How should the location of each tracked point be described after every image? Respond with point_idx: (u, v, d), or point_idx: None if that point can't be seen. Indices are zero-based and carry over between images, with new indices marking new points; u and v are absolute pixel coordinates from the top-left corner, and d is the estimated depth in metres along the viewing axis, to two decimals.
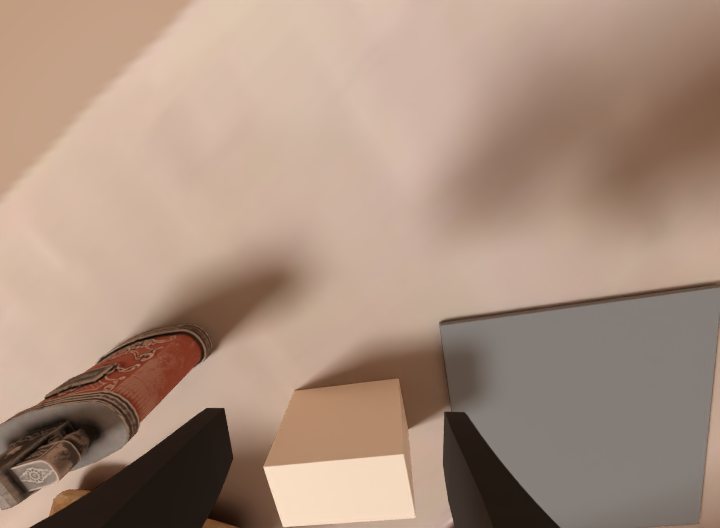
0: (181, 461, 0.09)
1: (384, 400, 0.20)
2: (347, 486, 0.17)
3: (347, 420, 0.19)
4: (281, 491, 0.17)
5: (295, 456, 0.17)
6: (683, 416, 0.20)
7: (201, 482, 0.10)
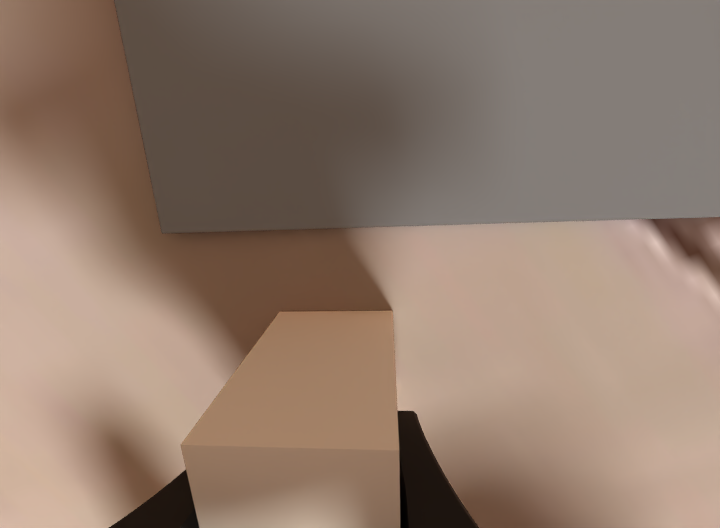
0: None
1: None
2: None
3: None
4: None
5: None
6: None
7: None
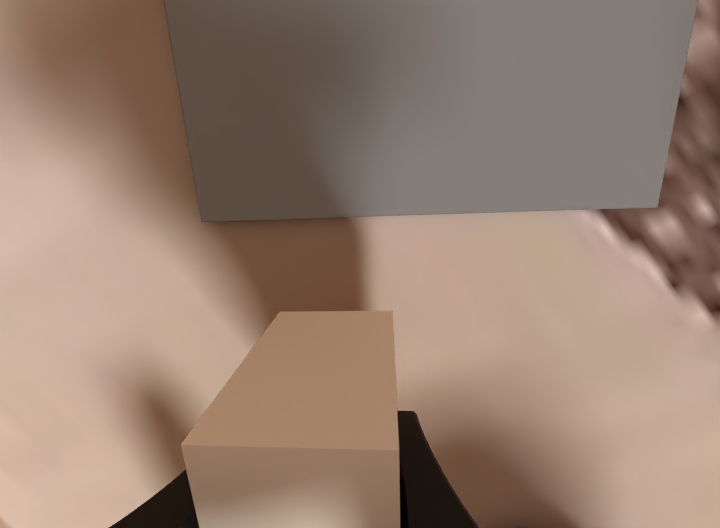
0: None
1: None
2: None
3: None
4: None
5: None
6: None
7: None
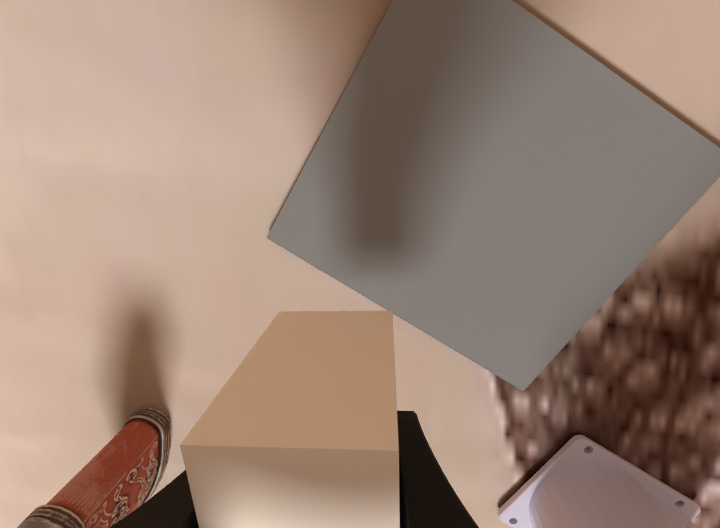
0: None
1: None
2: None
3: None
4: None
5: None
6: (559, 81, 0.15)
7: None
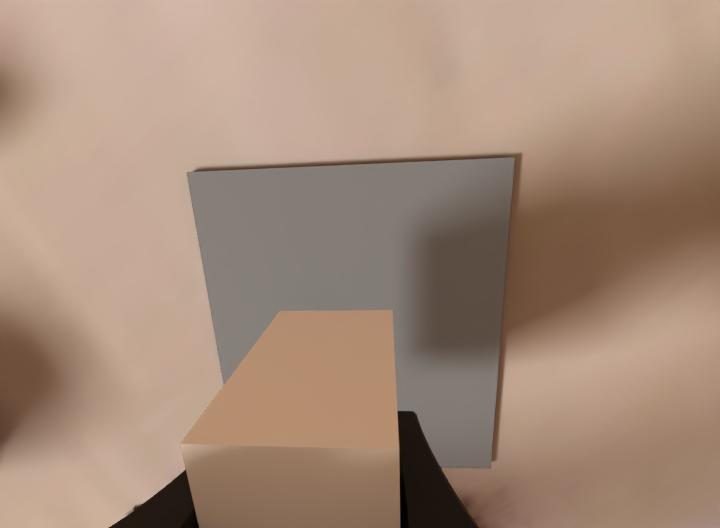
0: None
1: None
2: None
3: None
4: None
5: None
6: (472, 328, 0.17)
7: None
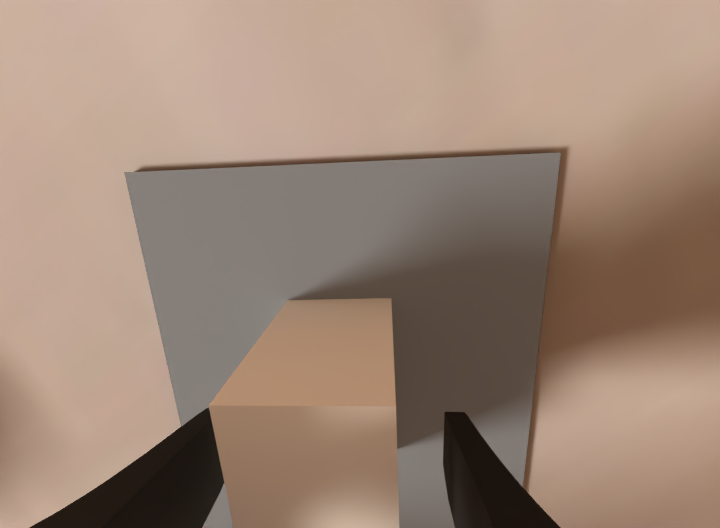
0: (181, 461, 0.09)
1: None
2: (298, 515, 0.08)
3: None
4: None
5: None
6: (497, 373, 0.13)
7: (201, 482, 0.10)
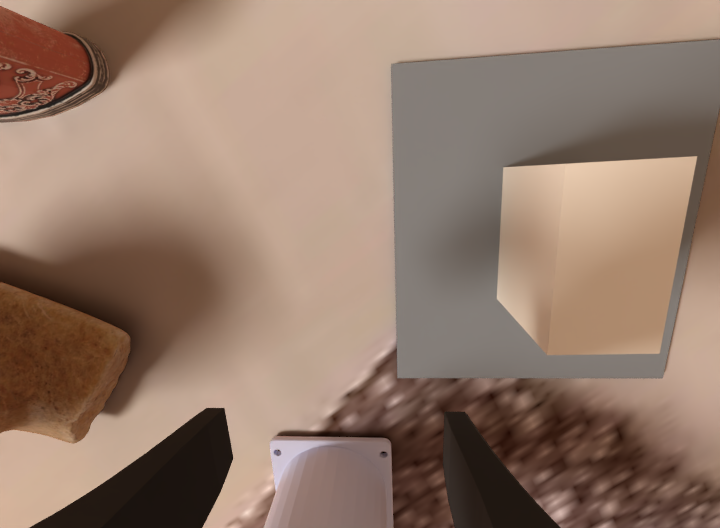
0: (181, 461, 0.09)
1: (517, 187, 0.15)
2: (606, 251, 0.12)
3: (526, 239, 0.14)
4: (593, 341, 0.13)
5: (544, 312, 0.13)
6: None
7: (201, 482, 0.10)
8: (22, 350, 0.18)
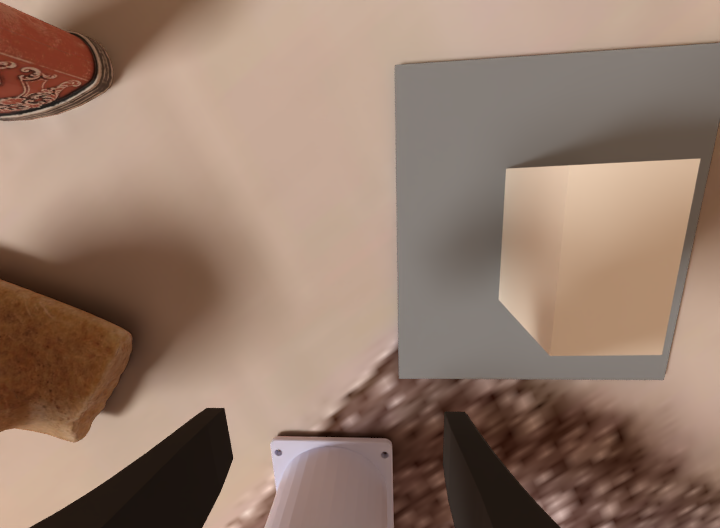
0: (181, 461, 0.09)
1: (520, 188, 0.15)
2: (610, 253, 0.12)
3: (529, 240, 0.14)
4: (596, 342, 0.13)
5: (547, 313, 0.13)
6: None
7: (201, 482, 0.10)
8: (24, 349, 0.18)
